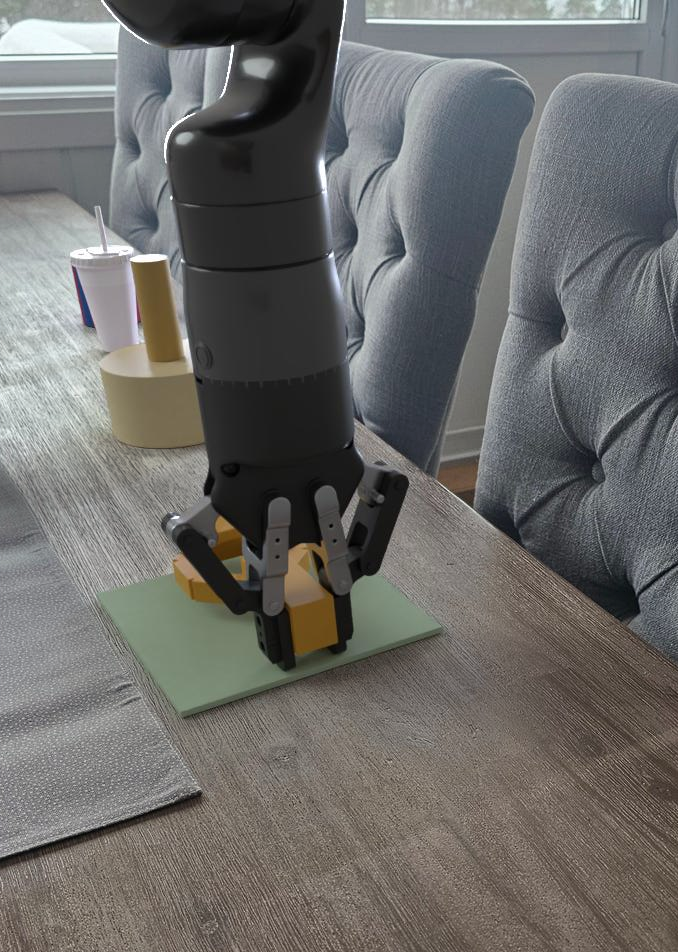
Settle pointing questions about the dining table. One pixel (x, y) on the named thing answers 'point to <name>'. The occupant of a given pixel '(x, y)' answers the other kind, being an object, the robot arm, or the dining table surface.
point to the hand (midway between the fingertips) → (308, 654)
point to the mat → (244, 638)
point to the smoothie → (109, 290)
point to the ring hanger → (301, 591)
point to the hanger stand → (153, 369)
